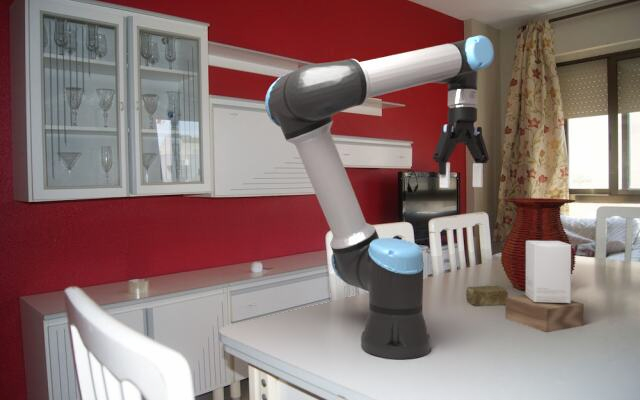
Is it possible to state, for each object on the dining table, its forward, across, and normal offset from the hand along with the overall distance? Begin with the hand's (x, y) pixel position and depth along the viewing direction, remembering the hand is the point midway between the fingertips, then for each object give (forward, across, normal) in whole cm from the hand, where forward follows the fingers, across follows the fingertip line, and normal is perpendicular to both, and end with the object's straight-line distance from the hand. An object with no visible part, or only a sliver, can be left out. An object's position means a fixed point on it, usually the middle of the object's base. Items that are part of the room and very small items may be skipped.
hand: (461, 187), depth 133 cm
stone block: (+35, +17, +4) cm, 39 cm away
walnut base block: (+35, +12, -17) cm, 41 cm away
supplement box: (+29, +14, -17) cm, 36 cm away
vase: (+35, +47, +6) cm, 59 cm away
